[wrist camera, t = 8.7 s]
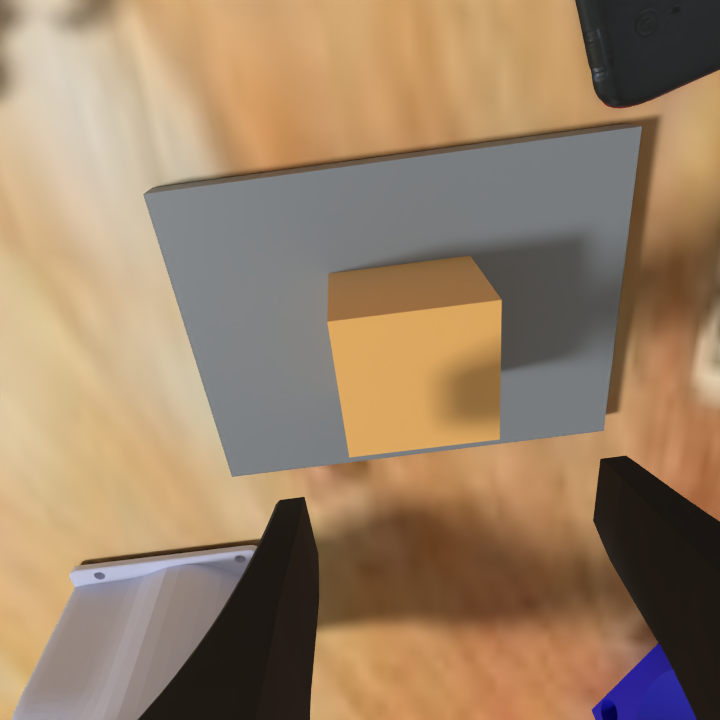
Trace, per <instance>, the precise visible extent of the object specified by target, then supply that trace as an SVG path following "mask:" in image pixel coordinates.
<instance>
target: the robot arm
mask: <svg viewBox="0 0 720 720" xmlns="http://www.w3.org/2000/svg"><path fill="white" fill-rule="evenodd" d="M593 521H594V523H595V526H596V528H597V531H598V533H599V535H600V538H601V540H602V543H603V545H604V547H605V549H606V552H607V554H608V556H609V558H610V561H611V562H612V564H613V566H614V568H615V569H616V571H617V573H618V575H619V576H620V578H621V580H622V582H623V583H624V585H625V587H626V588H627V590H628V592H629V594H630V595H631V597H632V599H633V600H634V602H635V604H636V605H637V607H638V609H639V611H640V612H641V614H642V616H643V617H644V619H645V621H646V622H647V624H648V626H649V628H650V629H651V631H652V633H653V634H654V636H655V638H656V639H657V641H658V643H659V645H660V646H661V648H662V650H663V652H664V653H665V655H666V657H667V659H668V661H669V663H670V665H671V666H672V668H673V670H674V672H675V674H676V677H677V679H678V681H679V683H680V685H681V687H682V689H683V692H684V694H685V696H686V698H687V700H688V702H689V704H690V706H691V709H692V711H693V713H694V715H695V717H696V719H697V720H720V522H719V521H718V520H716V519H715V518H713V517H712V516H710V515H709V514H707V513H706V512H704V511H703V510H702V509H700V508H699V507H697V506H696V505H694V504H693V503H691V502H690V501H689V500H687V499H686V498H684V497H683V496H681V495H680V494H679V493H677V492H676V491H674V490H673V489H672V488H670V487H669V486H668V485H666V484H665V483H663V482H662V481H661V480H659V479H658V478H656V477H655V476H654V475H652V474H651V473H650V472H648V471H647V470H646V469H644V468H643V467H641V466H640V465H639V464H637V463H636V462H634V461H633V460H632V459H630V458H629V457H627V456H620V457H612V458H604V459H601V460H600V468H599V476H598V485H597V493H596V502H595V510H594V519H593ZM239 555H242V556H239ZM70 579H71V581H72V583H73V584H74V586H75V588H74V590H73V592H72V594H71V596H70V598H69V600H68V602H67V604H66V606H65V608H64V610H63V612H62V614H61V616H60V618H59V620H58V622H57V624H56V626H55V628H54V630H53V632H52V634H51V636H50V638H49V641H48V643H47V645H46V647H45V649H44V651H43V653H42V655H41V657H40V659H39V661H38V663H37V665H36V667H35V669H34V671H33V673H32V675H31V677H30V679H29V681H28V683H27V685H26V687H25V689H24V691H23V693H22V695H21V697H20V699H19V702H18V704H17V706H16V709H15V711H14V714H13V717H12V720H310V701H311V685H312V674H313V663H314V651H315V640H316V629H317V617H318V605H319V561H318V552H317V547H316V543H315V539H314V535H313V531H312V527H311V522H310V518H309V514H308V510H307V506H306V502H305V497H300V498H292V499H285V500H279V502H278V503H277V504H276V506H275V508H274V511H273V513H272V516H271V518H270V520H269V523H268V525H267V527H266V529H265V531H264V534H263V536H262V538H261V540H260V542H259V544H258V546H254V545H245V546H237V547H228V548H220V549H212V550H203V551H195V552H187V553H179V554H170V555H162V556H154V557H145V558H137V559H129V560H121V561H112V562H104V563H96V564H87V565H79V566H76V567H74V568H73V569H72V571H71V573H70Z"/></svg>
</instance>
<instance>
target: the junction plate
mask: <svg viewBox="0 0 720 720" xmlns="http://www.w3.org/2000/svg"><path fill="white" fill-rule="evenodd" d="M641 130H642V126H638V125H633V124H628V123H625V124H618V125H610V126H603V127H596V128H588V129H581V130H573V131H566V132H559V133H551V134H544V135H537V136H529V137H522V138H515V139H507V140H500V141H493V142H485V143H478V144H471V145H463V146H456V147H449V148H441V149H434V150H427V151H419V152H412V153H405V154H397V155H390V156H383V157H375V158H368V159H361V160H353V161H346V162H339V163H331V164H324V165H316V166H309V167H302V168H294V169H287V170H280V171H272V172H265V173H258V174H250V175H243V176H236V177H228V178H221V179H214V180H206V181H199V182H192V183H184V184H177V185H170V186H162V187H155V188H152V189H150V190H149V191H147V192H146V193H144V194H143V195H144V198H145V201H146V204H147V207H148V211H149V214H150V217H151V220H152V223H153V227H154V230H155V233H156V236H157V239H158V242H159V246H160V249H161V252H162V255H163V258H164V262H165V265H166V268H167V271H168V274H169V277H170V281H171V284H172V287H173V290H174V293H175V297H176V300H177V303H178V306H179V309H180V312H181V316H182V319H183V322H184V325H185V328H186V332H187V335H188V338H189V341H190V344H191V347H192V351H193V354H194V357H195V360H196V363H197V367H198V370H199V373H200V376H201V379H202V382H203V386H204V389H205V392H206V395H207V398H208V402H209V405H210V408H211V411H212V414H213V417H214V421H215V424H216V427H217V430H218V433H219V437H220V440H221V443H222V446H223V449H224V452H225V456H226V459H227V462H228V465H229V468H230V472H231V475H232V477H234V476H242V475H250V474H259V473H267V472H275V471H283V470H291V469H299V468H307V467H315V466H323V465H331V464H339V463H348V462H356V461H364V460H372V459H380V458H388V457H396V456H404V455H412V454H420V453H428V452H436V451H445V450H453V449H461V448H469V447H477V446H485V445H493V444H501V443H509V442H517V441H525V440H533V439H542V438H550V437H558V436H566V435H574V434H582V433H590V432H598V431H604V423H605V415H606V407H607V399H608V391H609V383H610V376H611V368H612V360H613V352H614V344H615V336H616V328H617V320H618V312H619V304H620V296H621V289H622V281H623V273H624V265H625V257H626V249H627V241H628V233H629V225H630V217H631V209H632V201H633V194H634V186H635V178H636V170H637V162H638V154H639V146H640V138H641ZM463 256H471V257H472V259H473V260H474V262H475V263H476V264H477V266H478V267H479V269H480V270H481V271H482V273H483V274H484V276H485V277H486V279H487V280H488V281H489V283H490V284H491V286H492V287H493V288H494V290H495V291H496V293H497V294H498V295H499V297H500V298H501V300H502V314H501V384H500V440H491V441H483V442H475V443H466V444H458V445H450V446H441V447H433V448H425V449H416V450H408V451H400V452H391V453H383V454H375V455H366V456H358V457H350V458H349V453H348V447H347V440H346V434H345V428H344V422H343V416H342V410H341V403H340V397H339V391H338V385H337V379H336V373H335V367H334V360H333V354H332V348H331V342H330V336H329V330H328V323H327V311H328V274H329V273H337V272H345V271H353V270H361V269H368V268H376V267H384V266H392V265H400V264H408V263H416V262H424V261H432V260H439V259H447V258H455V257H463Z"/></svg>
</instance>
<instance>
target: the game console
mask: <svg viewBox="0 0 720 720" xmlns="http://www.w3.org/2000/svg"><path fill="white" fill-rule="evenodd" d="M575 1H576V6H577V10H578V15H579V19H580V24H581V29H582V34H583V39H584V43H585V49H586V53H587V58H588V63H589V67H590V69H591V73H592V80H593V86H594V90H595V92H596V94H597V96H598V97H599V99H600V100H602V101H603V103H604V104H605V105H607V106H609V107H613V108H626V107H631V106H635V105H639V104H642V103H644V102H647V101H650V100H653V99H655V98H657V97H659V96H661V95H664V94H666V93H668V92H670V91H672V90H675V89H677V88H679V87H681V86H684V85H686V84H688V83H690V82H693V81H695V80H697V79H699V78H702V77H704V76H706V75H709V74H711V73H713V72H715V71H718V70H720V0H575Z"/></svg>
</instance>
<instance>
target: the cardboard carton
mask: <svg viewBox="0 0 720 720" xmlns="http://www.w3.org/2000/svg"><path fill="white" fill-rule="evenodd" d="M501 314H502V300H501V298H500V297H499V295H498V294H497V293H496V291H495V290H494V288H493V287H492V286H491V284H490V283H489V281H488V280H487V279H486V277H485V276H484V274H483V273H482V271H481V270H480V269H479V267H478V266H477V264H476V263H475V262H474V260H473V259H472V257H471V256H463V257H455V258H447V259H439V260H432V261H424V262H416V263H408V264H400V265H392V266H384V267H376V268H368V269H361V270H353V271H345V272H337V273H329V274H328V311H327V323H328V330H329V336H330V342H331V348H332V354H333V360H334V367H335V373H336V379H337V385H338V391H339V397H340V403H341V410H342V416H343V422H344V428H345V434H346V440H347V447H348V453H349V458H350V457H358V456H366V455H375V454H383V453H391V452H400V451H408V450H416V449H425V448H433V447H441V446H450V445H458V444H466V443H475V442H483V441H491V440H500V384H501Z"/></svg>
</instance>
